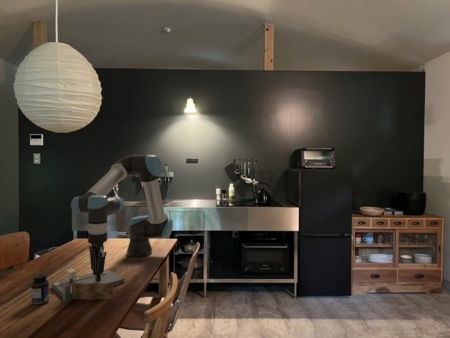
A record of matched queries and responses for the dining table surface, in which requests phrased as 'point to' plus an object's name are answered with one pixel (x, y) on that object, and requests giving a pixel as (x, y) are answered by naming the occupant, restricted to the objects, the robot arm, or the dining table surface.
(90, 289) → the door
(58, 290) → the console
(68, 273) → the fader knob
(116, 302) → the dining table surface
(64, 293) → the hinge bracket
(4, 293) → the dining table surface
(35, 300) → the pill bottle
